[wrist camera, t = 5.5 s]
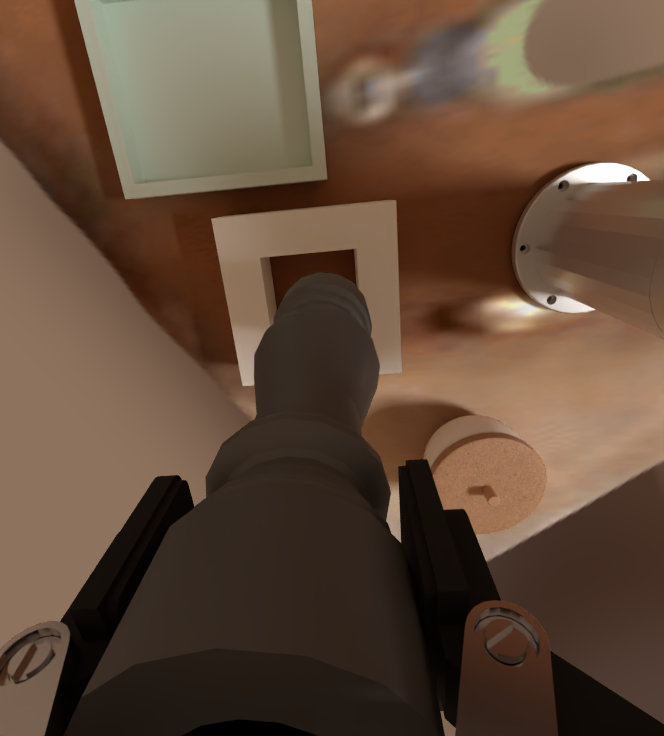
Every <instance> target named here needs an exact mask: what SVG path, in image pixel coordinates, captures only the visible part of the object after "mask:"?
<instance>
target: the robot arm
mask: <svg viewBox="0 0 664 736" xmlns="http://www.w3.org/2000/svg"><path fill="white" fill-rule="evenodd" d="M626 179H627V181H626ZM559 183H560V184H561V187H560V188H559V189H558V185H559ZM522 245H523V249H522V250H520V247H521V246H522ZM512 265H513V269H514V272H515V276H516V278H517V280H518V282H519V284H520V286H521V288H522V289H523V290H524V291H525V292H526V294H527V295H528V296H529V297H530V298H532V299H533V300H534V301H536V302H537V303H538V304H540V305H542V306H544V307H546V308H548V309H551V310H554V311H557V312H561V313H571V314H575V313H586V312H590V311H594V310H598V311H600V312H603V313H605V314H607V315H609V316H612V317H614V318H616V319H619V320H621V321H623V322H626V323H628V324H630V325H632V326H635V327H637V328H639V329H642V330H644V331H646V332H649V333H651V334H653V335H656V336H658V337H660V338H662V339H664V180H650V179H649V178H648V177H647V176H645V175H644V174H643V173H642V172H641V171H639V170H637V169H635V168H633V167H631V166H629V165H626V164H621V163H617V162H595V163H588V164H584V165H581V166H577V167H574V168H571V169H569V170H567V171H565V172H563V173H561V174H559V175H557V176H556V177H555V178H553V179H552V180H551V181H549V182H548V183H547V184H545V185H544V186H543V187H542V188H541V189H540V190H539V191H538V192H537V193H536V194H535V195H534V196H533V198H532V199H531V201H530V202H529V203H528V205H527V206H526V208H525V209H524V211H523V213H522V215H521V217H520V219H519V221H518V223H517V226H516V230H515V233H514V236H513V243H512ZM548 297H549V299H548V300H547V298H548ZM398 471H399V497H400V523H401V544H402V545H403V546H404V548H405V551H406V554H407V557H408V560H409V563H410V566H411V570H412V573H413V576H414V580H415V585H416V590H417V596H418V601H419V607H420V612H421V617H422V623H423V628H424V633H425V639H426V643H427V645H428V649H429V654H430V660H431V665H432V670H433V675H434V681H435V686H436V691H437V697H438V702H439V707H440V711H444V716H445V719H446V720H447V721H449V722H450V723H451V724H452V725H453V726H454V727H455V728H456V732H455V736H664V724H662V723H661V722H659V721H658V720H656V719H655V718H653V717H652V716H650V715H649V714H647V713H645V712H644V711H642V710H641V709H639V708H638V707H636V706H634V705H633V704H632V703H630V702H629V701H627V700H625V699H624V698H622V697H621V696H619V695H618V694H616V693H615V692H613V691H612V690H610V689H608V688H607V687H605V686H604V685H602V684H601V683H599V682H598V681H596V680H594V679H593V678H592V677H590V676H588V675H587V674H585V673H584V672H582V671H581V670H579V669H577V668H576V667H575V666H573V665H571V664H570V663H568V662H567V661H565V660H564V659H562V658H561V657H559V656H557V655H556V654H554V653H553V652H551V651H550V645H549V642H548V638H547V634H546V633H545V631H544V629H543V628H542V626H541V624H540V623H539V622H538V621H537V620H536V619H535V618H534V617H533V616H532V615H531V614H530V613H529V612H527V611H526V610H524V609H523V608H521V607H519V606H517V605H515V604H512V603H509V602H506V601H501V599H500V597H499V594H498V591H497V589H496V586H495V584H494V581H493V579H492V576H491V574H490V571H489V568H488V566H487V563H486V561H485V558H484V556H483V553H482V550H481V548H480V545H479V543H478V540H477V538H476V535H475V532H474V530H473V527H472V525H471V522H470V520H469V517H468V515H467V513H466V511H465V510H464V509H449V510H444V509H443V506H442V503H441V500H440V497H439V494H438V491H437V488H436V485H435V481H434V478H433V475H432V472H431V469H430V466H429V463H428V460H427V459H420V460H406V466H399V468H398ZM193 508H194V504H193V500H192V496H191V493H190V489H189V485H188V483H187V481H186V480H182V479H181V478H180V476H178V475H175V476H160V477H156V478H155V479H154V481H153V482H152V483H151V485H150V486H149V488H148V490H147V491H146V493H145V494H144V496H143V497H142V499H141V500H140V502H139V503H138V505H137V506H136V508H135V509H134V511H133V512H132V514H131V516H130V517H129V519H128V520H127V522H126V523H125V525H124V526H123V528H122V529H121V531H120V532H119V533H118V534H117V535H116V537H115V539H114V540H113V542H112V543H111V545H110V546H109V548H108V549H107V551H106V552H105V554H104V556H103V557H102V558H101V560H100V561H99V563H98V565H97V566H96V568H95V569H94V571H93V572H92V574H91V575H90V577H89V578H88V580H87V581H86V583H85V584H84V586H83V587H82V589H81V590H80V592H79V594H78V595H77V597H76V598H75V600H74V601H73V603H72V604H71V606H70V608H69V609H68V611H67V612H66V613H65V615H64V616H63V618H62V619H61V621H60V622H57V621H48V622H43V623H39V624H36V625H34V626H32V627H29V628H27V629H25V630H24V631H22V632H21V633H19V634H17V635H16V636H14V637H13V638H12V639H11V640H9V641H8V642H7V643H6V644H5V645H4V646H3V647H2V648H1V649H0V736H63V735H64V733H65V731H66V729H67V727H68V725H69V723H70V720H71V718H72V716H73V714H74V712H75V710H76V707H77V705H78V703H79V701H80V699H81V697H82V695H83V693H84V691H85V689H86V687H87V685H88V683H89V681H90V680H91V678H92V676H93V674H94V672H95V670H96V668H97V666H98V664H99V662H100V660H101V658H102V656H103V654H104V652H105V651H106V649H107V647H108V645H109V643H110V641H111V639H112V637H113V635H114V633H115V631H116V629H117V627H118V625H119V624H120V622H121V620H122V618H123V616H124V614H125V612H126V610H127V608H128V606H129V604H130V602H131V600H132V598H133V596H134V595H135V593H136V591H137V589H138V587H139V585H140V583H141V581H142V579H143V577H144V575H145V573H146V571H147V569H148V568H149V566H150V564H151V562H152V560H153V558H154V556H155V554H156V552H157V550H158V548H159V546H160V544H161V542H162V540H163V539H164V537H165V535H166V533H167V531H168V529H169V527H170V526H171V525H172V524H174V523H175V522H176V521H178V520H179V519H180V518H182V517H183V516H184V515H186V514H187V513H189V512H190V511H191V510H193Z"/></svg>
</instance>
